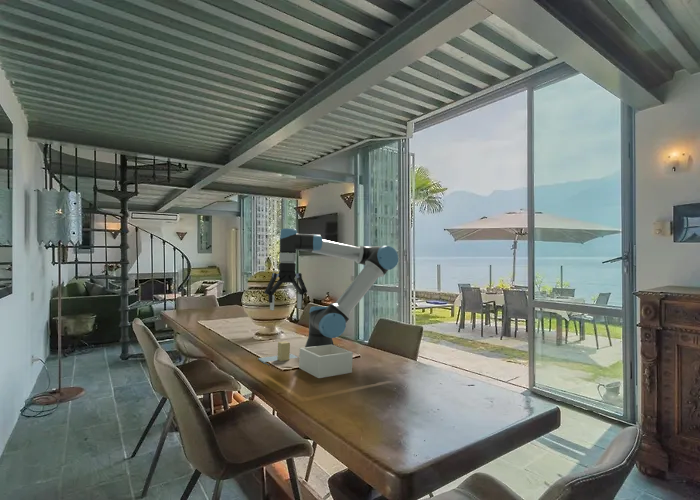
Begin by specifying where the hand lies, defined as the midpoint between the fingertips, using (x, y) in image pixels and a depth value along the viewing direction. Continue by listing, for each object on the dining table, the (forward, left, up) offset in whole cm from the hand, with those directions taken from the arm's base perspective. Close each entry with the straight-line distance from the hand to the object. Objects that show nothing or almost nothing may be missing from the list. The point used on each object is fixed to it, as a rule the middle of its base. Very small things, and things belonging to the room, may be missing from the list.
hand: (285, 309), depth 174 cm
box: (-8, +23, -23) cm, 34 cm away
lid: (0, 0, -24) cm, 24 cm away
